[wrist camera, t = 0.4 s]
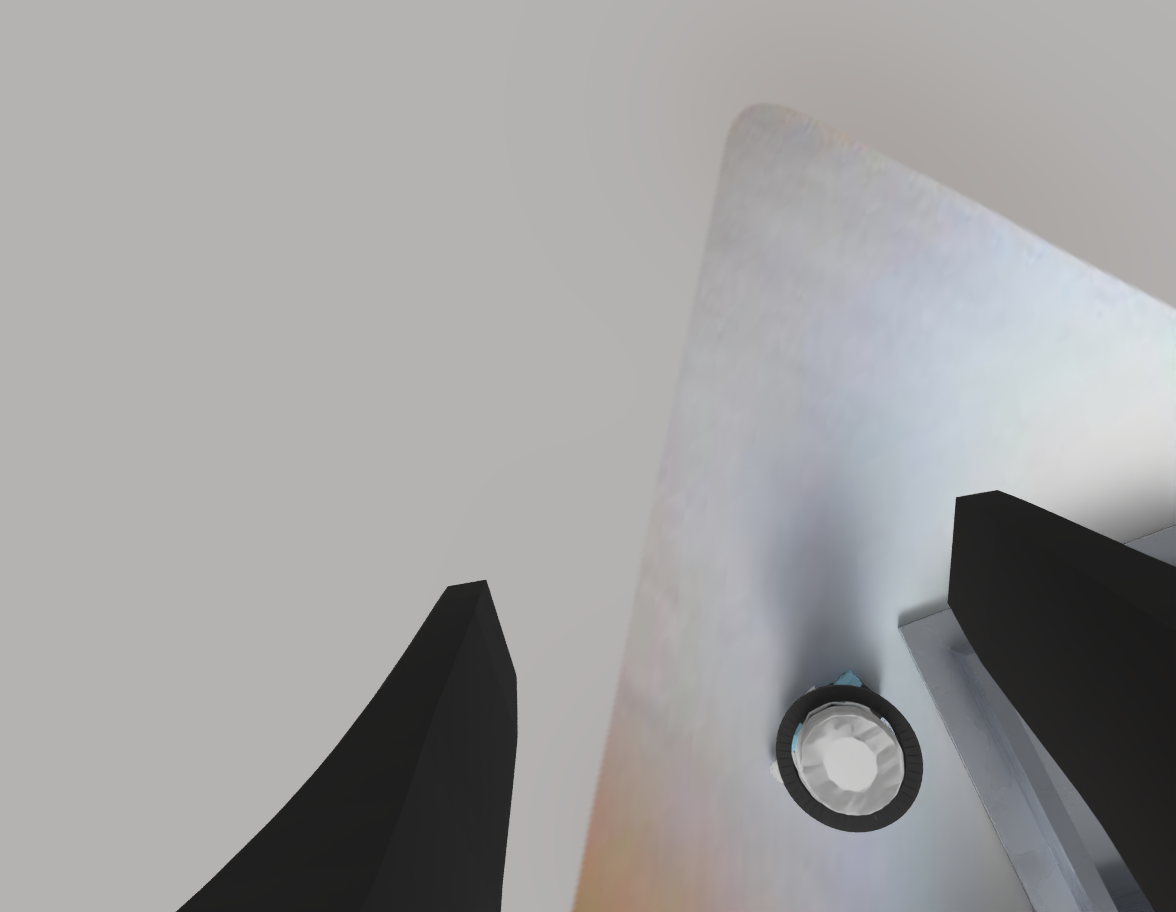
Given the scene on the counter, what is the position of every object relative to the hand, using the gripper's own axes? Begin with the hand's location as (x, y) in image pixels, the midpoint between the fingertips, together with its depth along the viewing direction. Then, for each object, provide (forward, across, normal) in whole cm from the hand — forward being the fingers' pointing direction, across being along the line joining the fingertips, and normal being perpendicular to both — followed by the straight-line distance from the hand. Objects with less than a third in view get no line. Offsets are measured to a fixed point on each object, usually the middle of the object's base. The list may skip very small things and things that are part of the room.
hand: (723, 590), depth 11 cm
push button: (+16, -6, +23) cm, 29 cm away
